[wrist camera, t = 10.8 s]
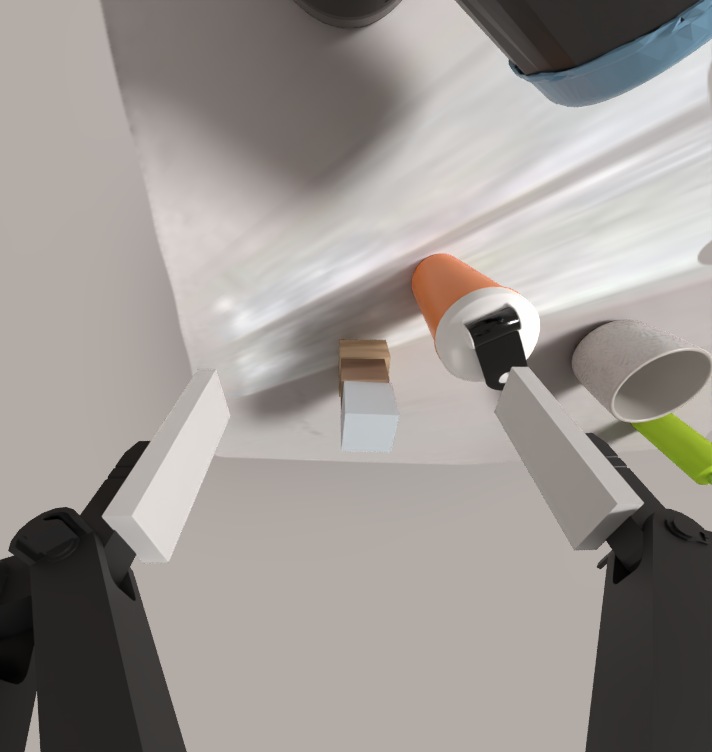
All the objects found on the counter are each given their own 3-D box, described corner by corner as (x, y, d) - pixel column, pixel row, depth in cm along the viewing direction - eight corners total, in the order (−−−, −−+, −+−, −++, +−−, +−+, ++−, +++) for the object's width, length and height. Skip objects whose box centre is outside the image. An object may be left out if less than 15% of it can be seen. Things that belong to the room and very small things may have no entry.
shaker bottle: (423, 322, 45) (472, 414, 29) (392, 272, 41) (429, 347, 24) (480, 287, 42) (570, 366, 26) (453, 230, 38) (542, 281, 22)
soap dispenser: (626, 413, 58) (740, 512, 42) (666, 400, 57) (801, 497, 40) (624, 433, 61) (729, 532, 45) (662, 421, 60) (785, 519, 43)
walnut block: (340, 358, 42) (341, 379, 38) (384, 358, 42) (389, 379, 38) (340, 393, 46) (341, 416, 41) (380, 392, 46) (385, 415, 42)
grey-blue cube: (344, 380, 38) (345, 413, 33) (391, 383, 39) (399, 415, 34) (340, 416, 41) (341, 451, 37) (384, 418, 42) (390, 452, 37)
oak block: (339, 339, 46) (339, 356, 42) (385, 339, 46) (390, 356, 42) (339, 377, 50) (339, 396, 46) (381, 377, 50) (385, 396, 46)
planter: (661, 329, 48) (736, 368, 39) (596, 388, 54) (648, 432, 45) (608, 298, 44) (677, 332, 35) (545, 364, 51) (590, 408, 42)
